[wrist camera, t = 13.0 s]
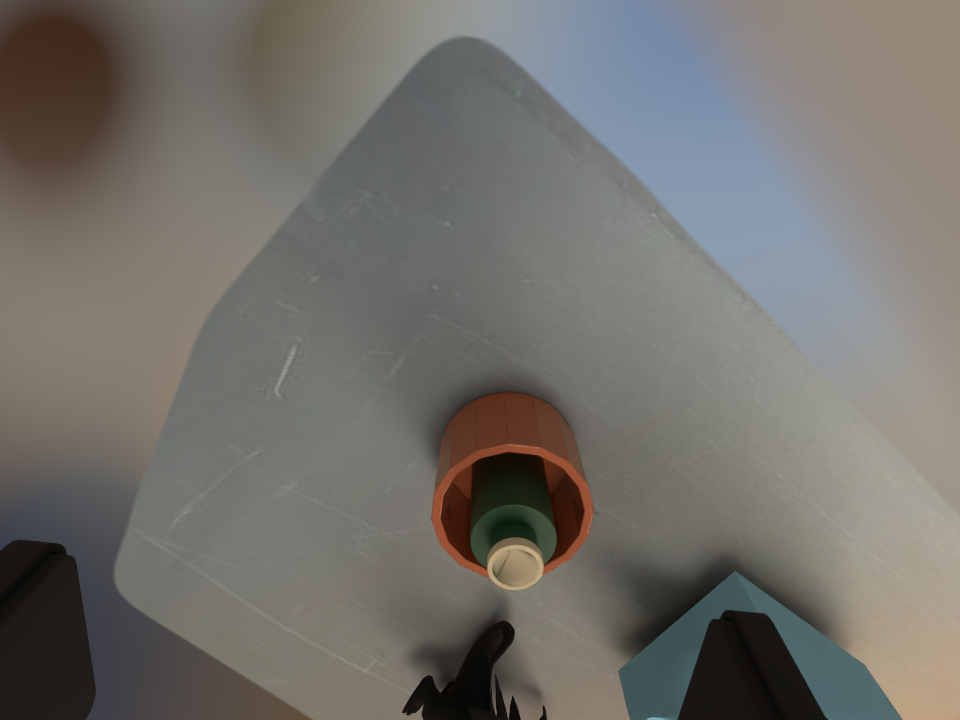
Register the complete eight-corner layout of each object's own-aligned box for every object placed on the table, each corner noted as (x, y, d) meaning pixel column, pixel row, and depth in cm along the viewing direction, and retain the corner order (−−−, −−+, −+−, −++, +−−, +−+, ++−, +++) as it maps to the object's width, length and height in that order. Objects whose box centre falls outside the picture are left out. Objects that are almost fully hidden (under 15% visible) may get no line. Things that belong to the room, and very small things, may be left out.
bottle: (476, 424, 38) (475, 524, 29) (548, 432, 39) (569, 535, 29) (468, 485, 40) (464, 599, 31) (536, 493, 40) (553, 608, 31)
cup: (447, 384, 38) (441, 435, 32) (587, 400, 39) (607, 455, 32) (433, 503, 41) (425, 571, 35) (562, 517, 42) (576, 586, 36)
